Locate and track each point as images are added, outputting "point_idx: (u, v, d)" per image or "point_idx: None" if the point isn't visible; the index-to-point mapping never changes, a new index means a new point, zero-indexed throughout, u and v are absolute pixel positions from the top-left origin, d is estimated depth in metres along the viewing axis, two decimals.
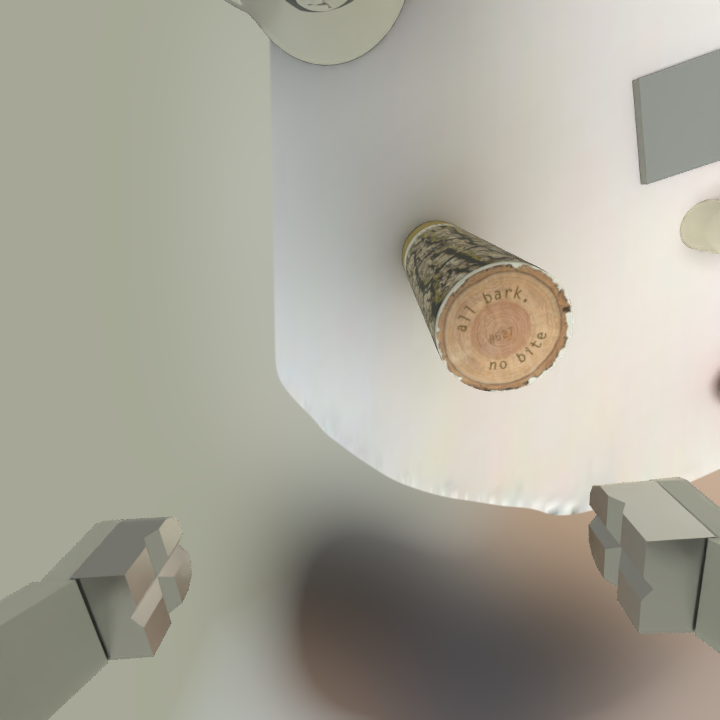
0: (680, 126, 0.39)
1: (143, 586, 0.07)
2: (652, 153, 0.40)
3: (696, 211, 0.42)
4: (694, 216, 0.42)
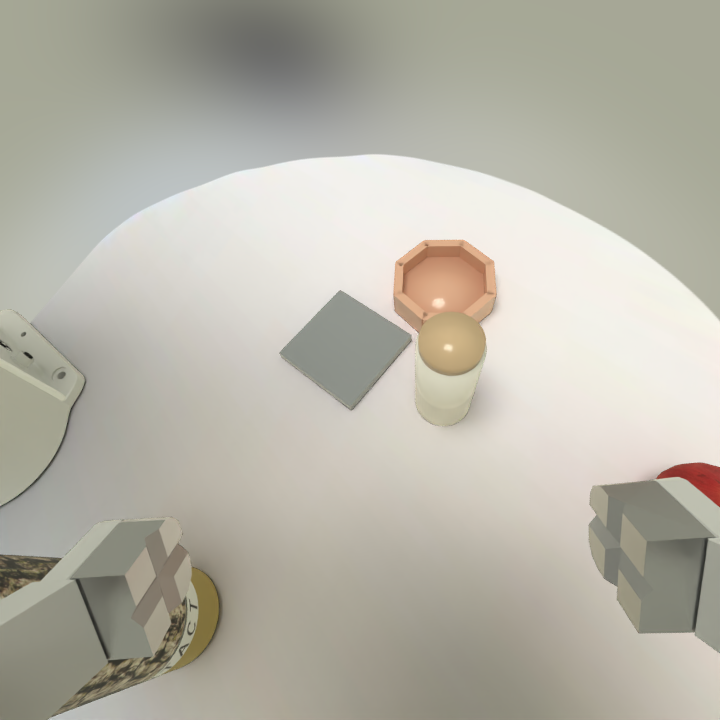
0: (339, 356, 0.40)
1: (143, 586, 0.07)
2: (333, 385, 0.39)
3: (415, 396, 0.38)
4: (416, 400, 0.37)
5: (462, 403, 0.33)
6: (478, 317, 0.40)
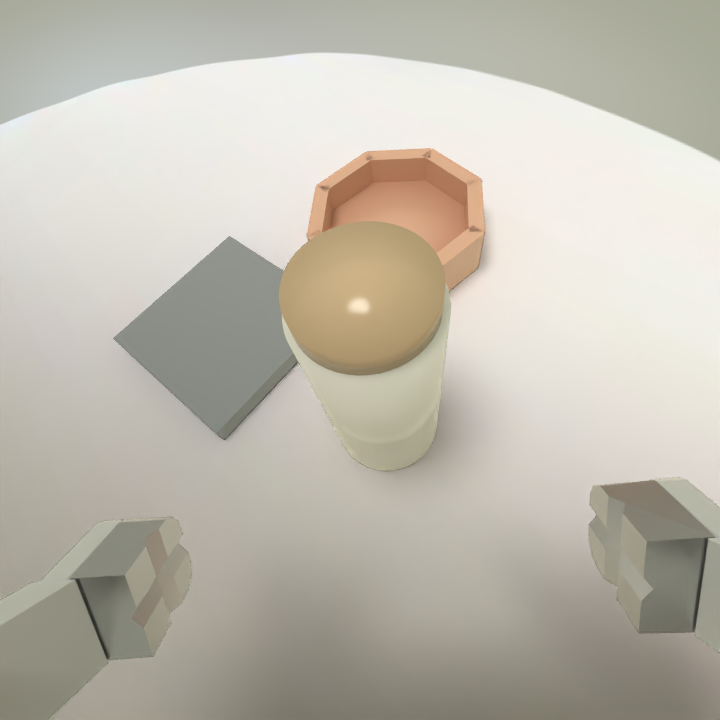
0: (211, 343, 0.23)
1: (143, 586, 0.07)
2: (193, 394, 0.22)
3: None
4: None
5: (410, 434, 0.16)
6: (454, 273, 0.23)
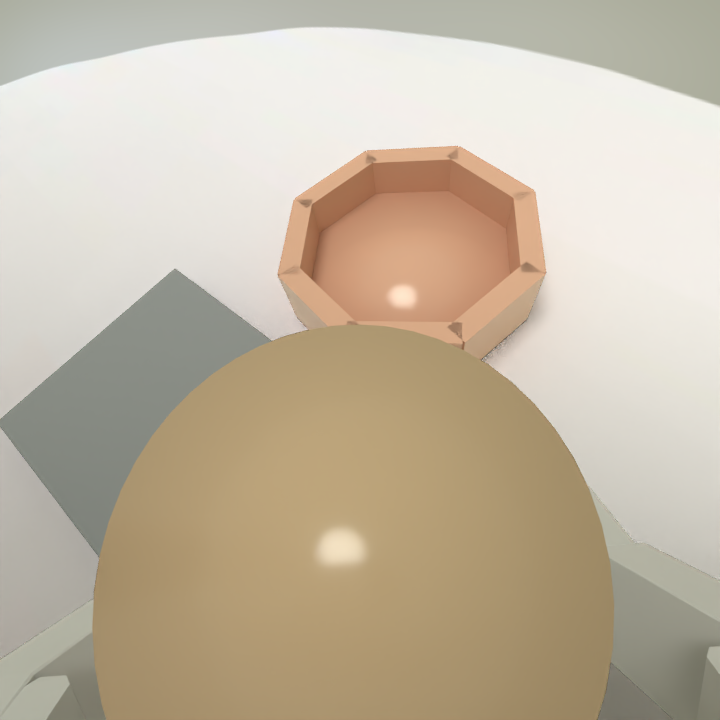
0: (135, 435, 0.16)
1: None
2: (100, 520, 0.14)
3: None
4: None
5: None
6: (497, 333, 0.15)
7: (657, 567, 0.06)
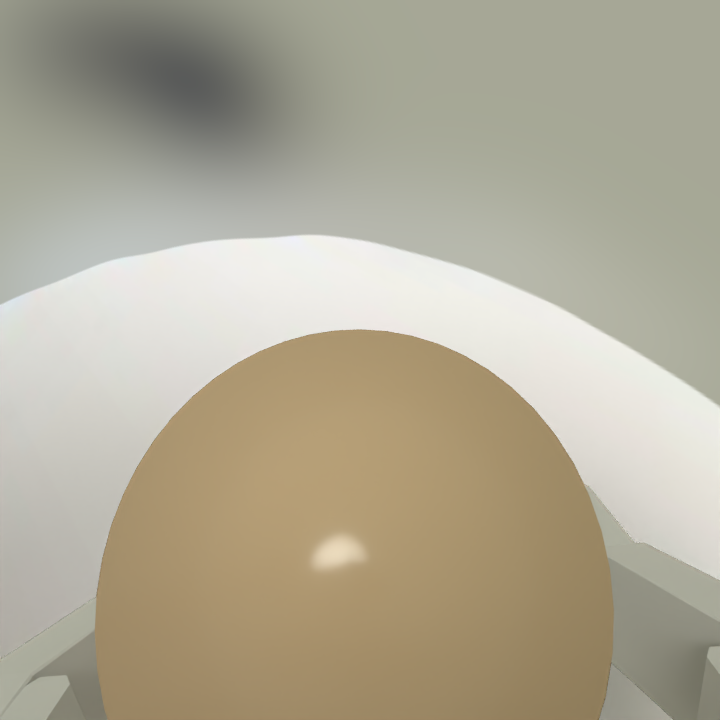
0: None
1: None
2: None
3: None
4: None
5: None
6: None
7: (656, 567, 0.06)
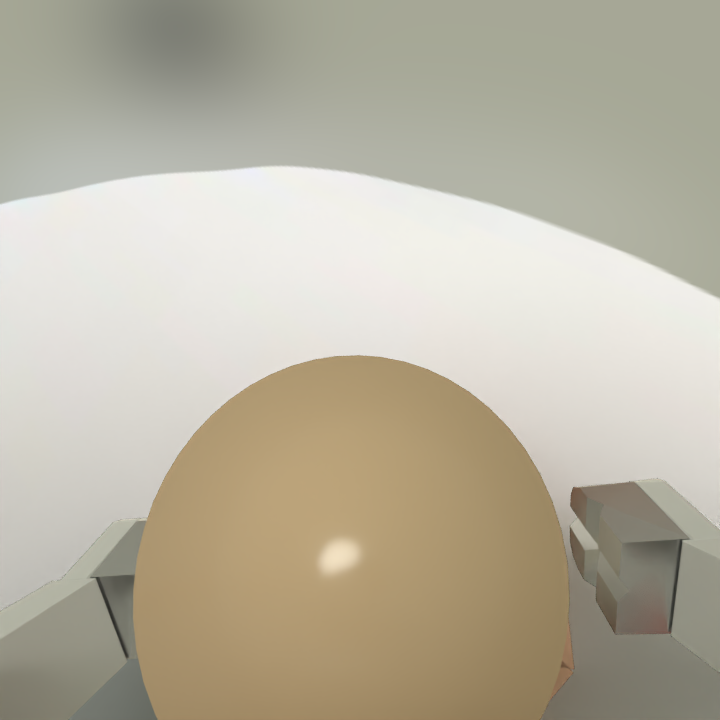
0: None
1: None
2: None
3: None
4: None
5: None
6: None
7: None
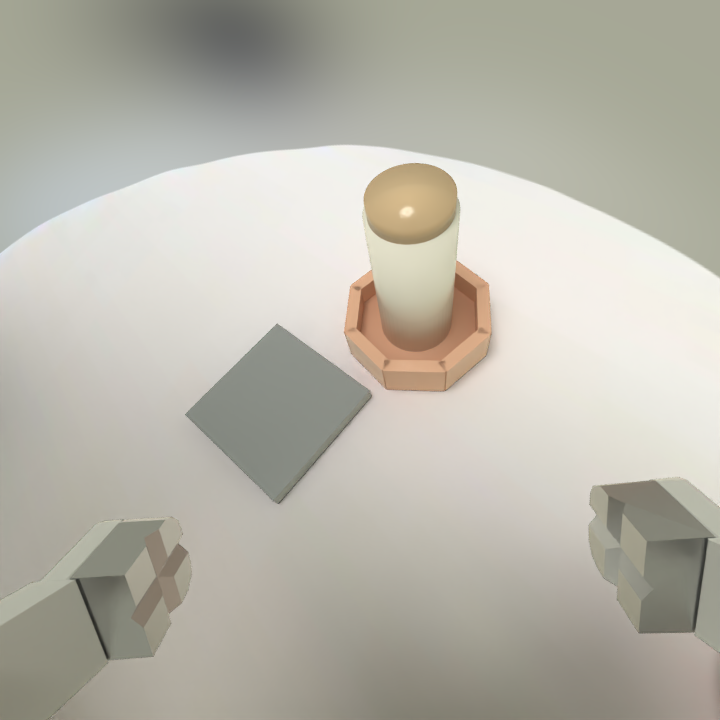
0: (266, 421, 0.28)
1: (143, 586, 0.07)
2: (253, 465, 0.27)
3: None
4: None
5: (434, 307, 0.25)
6: (466, 365, 0.28)
7: None
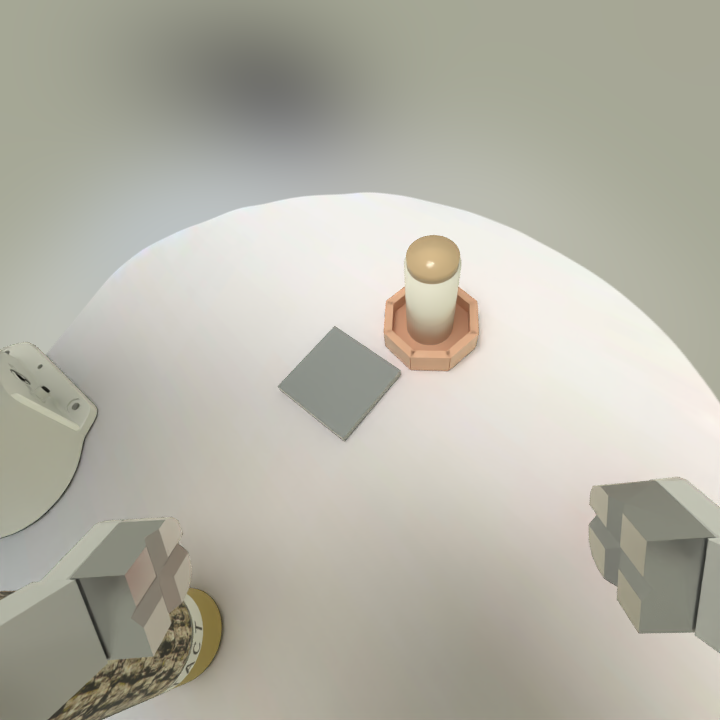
0: (333, 390, 0.44)
1: (143, 586, 0.07)
2: (327, 417, 0.42)
3: None
4: (407, 323, 0.44)
5: (444, 318, 0.40)
6: (462, 353, 0.43)
7: None
